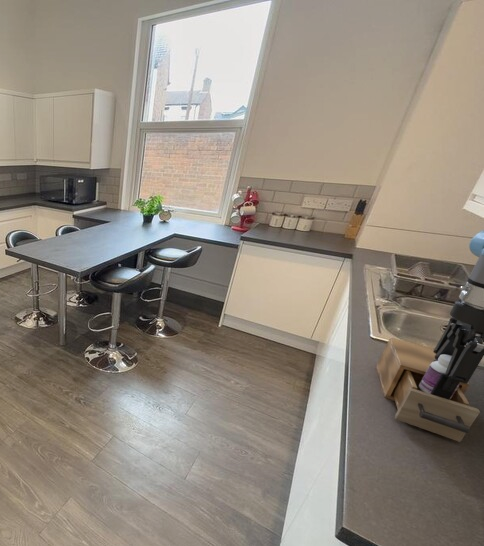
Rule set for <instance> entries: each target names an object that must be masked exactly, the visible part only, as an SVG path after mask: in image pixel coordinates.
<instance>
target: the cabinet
mask: <svg viewBox="0 0 484 546" xmlns="http://www.w3.org/2000/svg"><path fill="white" fill-rule="evenodd" d="M434 349H435V347H434V348H433V347H430V346H426V345H422V344H417V343H414V342H410V341H406V340H401V339H397V338H394V337H389V339H388V341H387V343H386V345H385V347H384V349H383V352H382V353H381V356H380V358H379V360H378V362H377V365H376V367H375V368H376V372H377V375H378V378H379V382H380V387H381V391H382V393H383V397H384V398H385V399H388V400H391V401H394V402H395V399H394V396H393V393H392V392H393V390H394V388H395V386H396V384H397V382H398V380H399V378H400V376H401V374H402V372H403V370H404V369H406V370H409V371H413V372H416V373H420V374H423V375H425V373H426V372H427V370H428V368H429V366H430V364H431V363H432V362H434V360H436V359H435V357H434V356H435V355H436V354H435V353H434V352H433V351H434ZM470 385H471V384H470V383H469V382H468V383H467V384H465V383H462V382H461V383H460V385H459V388H460V389H461V391H462V393H463V394H465V393H466V392H467V390H468V388H469V386H470Z"/></svg>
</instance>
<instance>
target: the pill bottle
mask: <svg viewBox="0 0 484 546" xmlns="http://www.w3.org/2000/svg"><path fill="white" fill-rule="evenodd" d="M451 357H452V356H450V355H445V354H442V355H440V357H439V358H438V361H434V362H432V363H431V364H430V366H429V368H428V370H427V372H426V373H425V375H424V377H423V379H422V381H421V382H420V384H419V387H420V389H421V390H422V391H423V392H425V393H429V394H430V393H431V392H432V390H433V388H434V387H435V385H436V383H437V381H438V380H439V378H440V376H441V375H440V372H441V373H445V372H446V370H447V367H448V365H449V362H450V360H451ZM460 383H461V382H459V384H458V386H457V387H456V389H455V391H456V390H457V388H458V387H459V385H460ZM455 391H454V392H453V394H452V396H453V395H454V393H455ZM452 396H451V397H450V399H451V398H452Z"/></svg>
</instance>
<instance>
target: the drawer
mask: <svg viewBox="0 0 484 546" xmlns="http://www.w3.org/2000/svg"><path fill="white" fill-rule="evenodd" d="M423 377H424V375H423V374H420V373H416V372H413V371H409V370H406V369H404V370H403V372H402V374H401V376H400V378H399V380H398V382H397V384H396V386H395V388H394V390H393V392H392V393H393V396H394V399H395V401H394V403H395V405H396V408H397V411H396V413H395V415H394V418H395V419H396V420H398V421H399V422H403V423H406V424H408V425H411V426H414V427H417V428H419V429H423V430H426V431H428V432H430V433H433V434H435V435H439V436H441V437H445V438H447V439H451V440H453V441H456V442H459V443H461V441H462V440H463V439H464V437H465V435H466V434H468V433H469V432H470V431H471V427H472V425H473V424H474V423H475V421H476V420H477V417H478V416H479V414H480V413H481V411H480V410H479V408H478V407H477V408H476V407H473V406H470V403H469V401H468V399H467V397H466V396H465V395H464V394H465V393H464V394H463V393H462V391H461V389H460V388H459V387H458V388H457V390H456V391H455V393H454V395H453V396H452V398H451V399H449V400H448V399H445V398H441V397H438V396H435V395H432V394H429V393H425V392H423V391H422V390H421V389H420V387H419V384H420V382H421V381H422V379H423Z"/></svg>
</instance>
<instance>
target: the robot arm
mask: <svg viewBox="0 0 484 546" xmlns="http://www.w3.org/2000/svg"><path fill="white" fill-rule="evenodd" d="M468 248H469V251H470V253H471V254H472V255H473V256H475V257H477V261H475V265H474V266H473V269H472V271H471V273H470V274H469V276H468V278H467V280H466V282H465V285H461V286H459V291H460V294H459V295H458V298H459V299H456V300H455V302H454V304H453V306H452V308H451V309H450V311H449V316H451V317H450V318H449V321H448V323H447V326H446V327H445V330H444V331H443V333H442V335H441V336H440V338H439V340H438V342H437V343H436V346H435V347H434V351H433V352H434V353H435V354H436V355H435V356H434V357H435V359H436V360H434V361H438V358H439V357H440V355H442V354H445V355H450V356H452V357H451V360H450V362H449V365H448V367H447V370H446V372H445V373H441V372H440V375H441V376H440V378H439V380H438V381H437V383H436V385H435V387H434V388H433V390H432V392H431V393H430V394H432V395H435V396H438V397H441V398H445V399H448V400H449V399H450V397H451V396H452V394H453V392H454V391H455V389H456V387H457V386H458V384H459V382H462V383H465V384H467V383H469V382H470V380H471V378H472V376H474V373H475V371H476V370H477V368H478V366H479V365H480V363H481V361H482V360H483V358H484V230H481V231H480V232H478V233H476V234H475V235H474V236H472V238H471V240H470V242H469V247H468Z"/></svg>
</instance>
